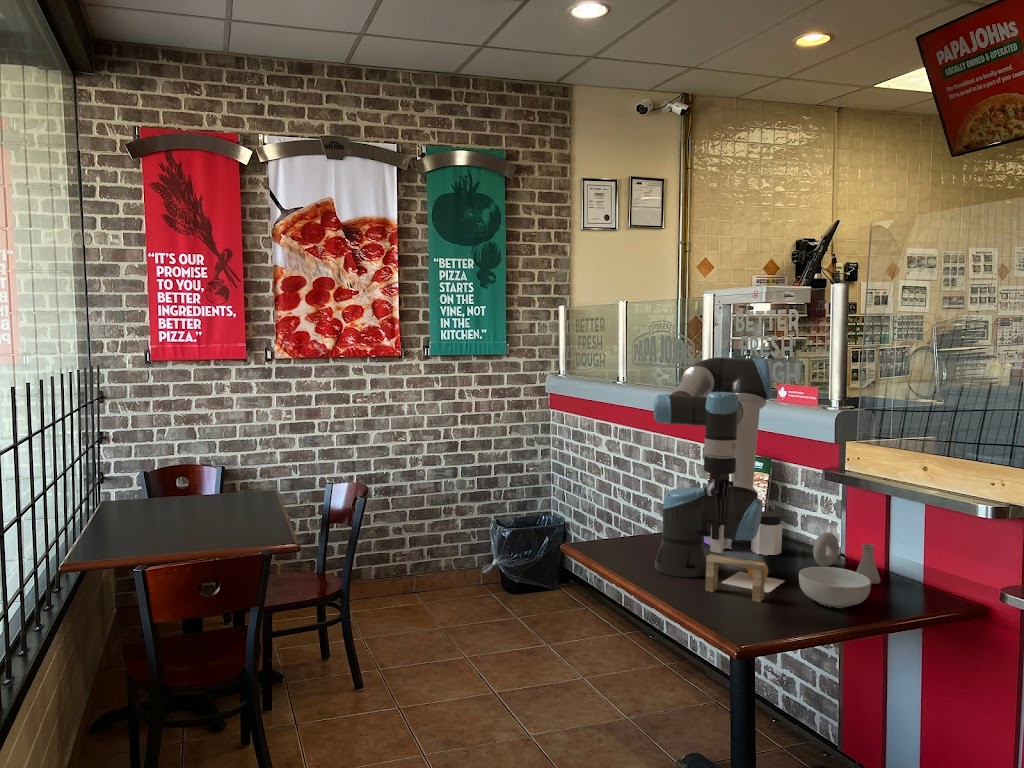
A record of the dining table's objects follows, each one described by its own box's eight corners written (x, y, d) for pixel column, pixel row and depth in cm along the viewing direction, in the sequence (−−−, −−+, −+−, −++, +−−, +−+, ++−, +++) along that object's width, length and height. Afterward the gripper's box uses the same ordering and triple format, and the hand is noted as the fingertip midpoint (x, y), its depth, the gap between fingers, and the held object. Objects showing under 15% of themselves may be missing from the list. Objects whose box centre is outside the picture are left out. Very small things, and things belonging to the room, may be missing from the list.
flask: (883, 585, 225) (885, 549, 224) (855, 583, 226) (857, 547, 225) (877, 578, 232) (879, 542, 231) (850, 576, 233) (851, 541, 233)
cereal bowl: (787, 603, 208) (788, 575, 208) (811, 588, 221) (812, 562, 220) (857, 619, 197) (858, 590, 197) (878, 603, 210) (879, 575, 210)
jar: (770, 557, 251) (772, 518, 250) (746, 552, 256) (748, 513, 256) (785, 552, 257) (787, 514, 256) (761, 547, 263) (762, 509, 262)
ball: (748, 581, 230) (742, 573, 226) (753, 563, 232) (747, 554, 228) (767, 585, 226) (762, 576, 223) (772, 566, 229) (767, 558, 225)
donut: (830, 562, 246) (832, 529, 246) (840, 565, 244) (842, 531, 243) (809, 567, 241) (811, 533, 240) (820, 570, 238) (821, 536, 237)
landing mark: (721, 583, 224) (721, 582, 224) (739, 572, 234) (739, 571, 234) (769, 592, 216) (769, 592, 216) (785, 581, 227) (785, 580, 227)
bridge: (759, 602, 209) (761, 566, 208) (705, 590, 217) (706, 556, 216) (763, 599, 211) (765, 563, 210) (709, 587, 219) (711, 553, 219)
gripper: (724, 461, 194) (721, 560, 195) (744, 454, 204) (741, 548, 206) (694, 457, 198) (691, 554, 200) (715, 451, 208) (712, 543, 210)
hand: (716, 551), depth 203 cm, fingers closed
